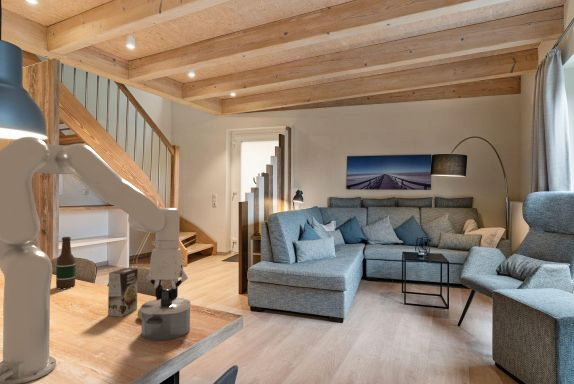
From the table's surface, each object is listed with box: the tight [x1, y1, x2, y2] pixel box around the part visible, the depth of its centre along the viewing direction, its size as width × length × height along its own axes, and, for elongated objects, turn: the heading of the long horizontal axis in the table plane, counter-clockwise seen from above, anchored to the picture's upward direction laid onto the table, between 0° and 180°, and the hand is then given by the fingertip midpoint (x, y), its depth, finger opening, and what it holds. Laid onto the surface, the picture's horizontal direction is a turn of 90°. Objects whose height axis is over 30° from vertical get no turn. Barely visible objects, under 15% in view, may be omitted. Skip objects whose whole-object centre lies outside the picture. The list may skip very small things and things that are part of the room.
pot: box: [141, 306, 191, 342], centre depth 115 cm, size 19×15×8 cm
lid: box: [140, 287, 191, 315], centre depth 115 cm, size 16×16×7 cm
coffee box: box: [107, 267, 139, 318], centre depth 132 cm, size 9×6×16 cm
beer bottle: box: [55, 236, 76, 289], centre depth 165 cm, size 8×8×24 cm
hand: (166, 298), depth 115 cm, fingers open, 4 cm apart
